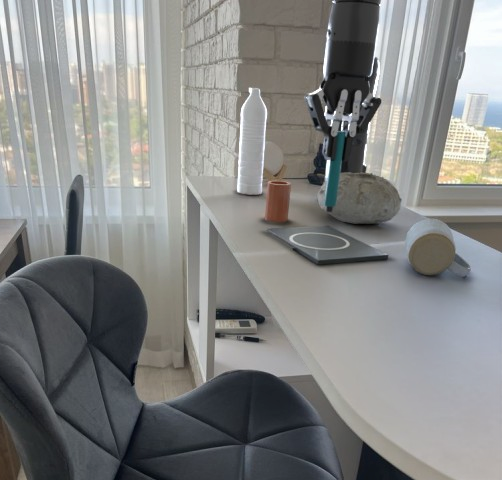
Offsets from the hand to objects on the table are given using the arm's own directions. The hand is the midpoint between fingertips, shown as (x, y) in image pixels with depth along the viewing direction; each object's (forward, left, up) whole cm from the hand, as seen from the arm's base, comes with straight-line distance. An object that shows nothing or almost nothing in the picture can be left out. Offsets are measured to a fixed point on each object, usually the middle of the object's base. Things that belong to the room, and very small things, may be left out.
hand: (336, 159), depth 84 cm
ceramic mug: (-12, +15, -15) cm, 25 cm away
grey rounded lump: (-18, -17, -15) cm, 29 cm away
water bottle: (-7, -51, -15) cm, 54 cm away
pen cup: (0, -20, -15) cm, 25 cm away
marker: (0, 0, -9) cm, 9 cm away
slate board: (-1, -2, -15) cm, 15 cm away
